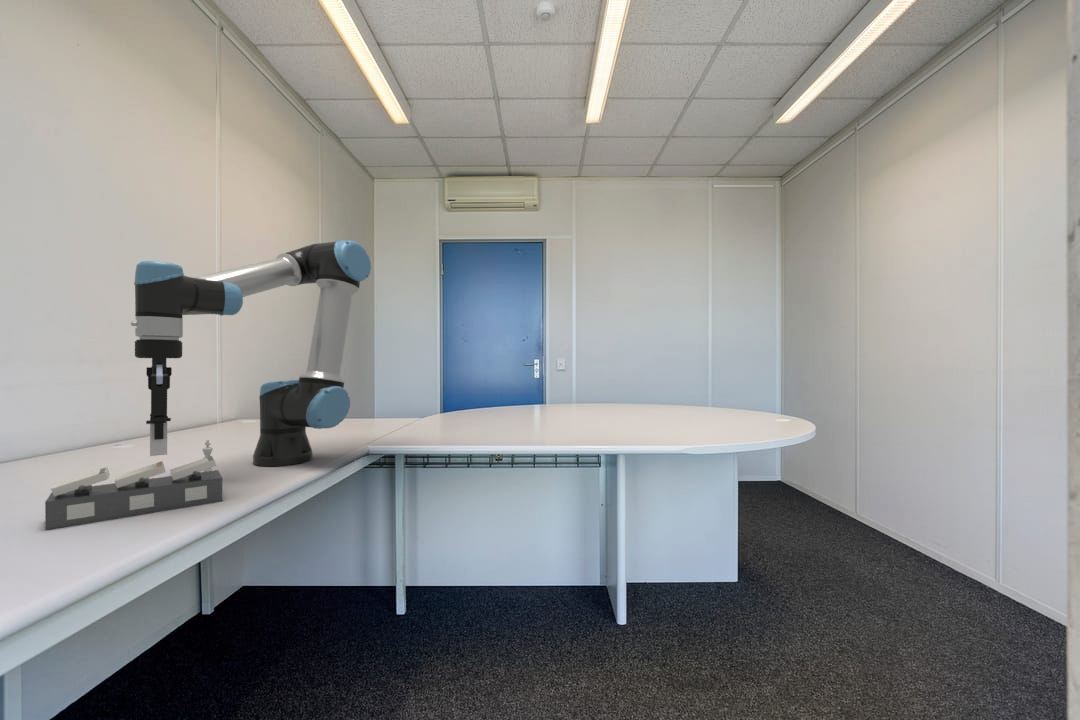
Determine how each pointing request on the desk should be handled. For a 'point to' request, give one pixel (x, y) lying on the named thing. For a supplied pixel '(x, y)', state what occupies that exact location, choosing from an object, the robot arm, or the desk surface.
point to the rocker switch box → (131, 499)
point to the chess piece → (207, 452)
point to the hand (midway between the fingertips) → (158, 454)
